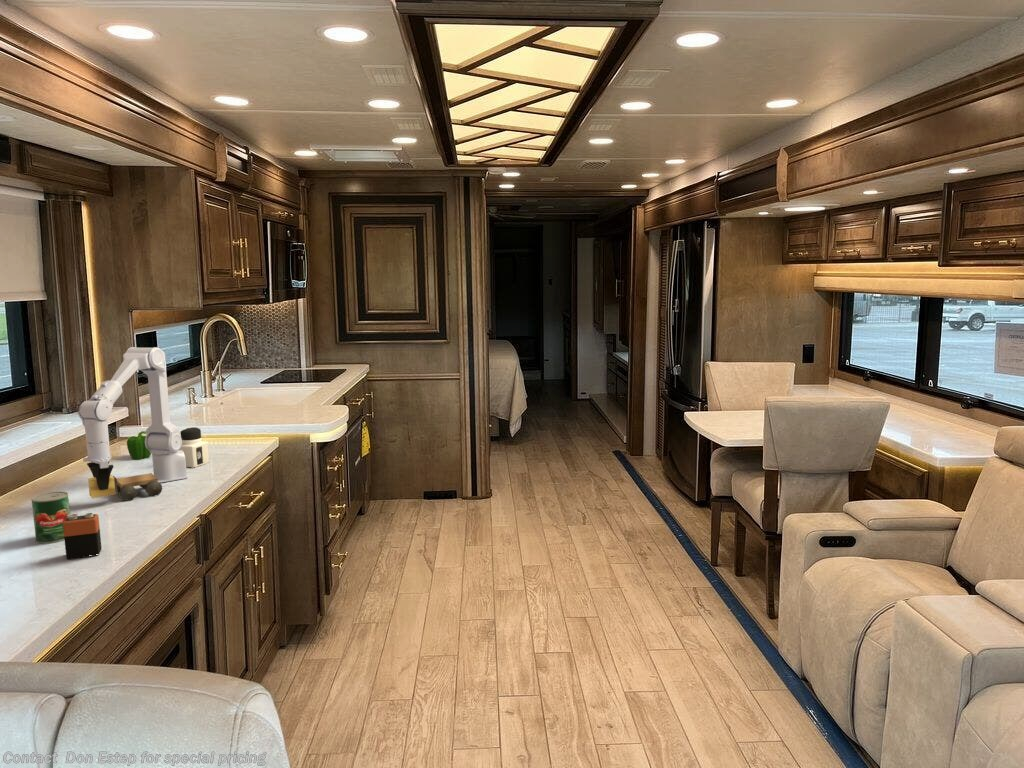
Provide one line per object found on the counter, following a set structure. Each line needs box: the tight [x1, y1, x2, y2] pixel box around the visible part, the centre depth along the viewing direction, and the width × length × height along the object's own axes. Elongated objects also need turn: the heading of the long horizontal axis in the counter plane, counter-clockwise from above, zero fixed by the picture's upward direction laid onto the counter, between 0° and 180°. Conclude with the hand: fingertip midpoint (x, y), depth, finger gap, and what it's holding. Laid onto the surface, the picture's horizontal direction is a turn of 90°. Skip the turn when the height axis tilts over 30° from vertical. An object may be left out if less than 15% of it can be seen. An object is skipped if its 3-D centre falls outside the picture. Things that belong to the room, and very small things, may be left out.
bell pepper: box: [126, 430, 152, 460], centre depth 266 cm, size 8×8×10 cm
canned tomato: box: [30, 491, 71, 544], centre depth 184 cm, size 8×8×11 cm
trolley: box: [116, 472, 163, 502], centre depth 222 cm, size 11×11×5 cm
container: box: [179, 427, 210, 469], centre depth 255 cm, size 8×8×13 cm
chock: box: [87, 474, 119, 499], centre depth 211 cm, size 7×4×5 cm, turn 128°
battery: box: [63, 512, 102, 560], centre depth 173 cm, size 4×7×10 cm, turn 111°
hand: (102, 487), depth 211 cm, fingers closed on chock, 4 cm apart
